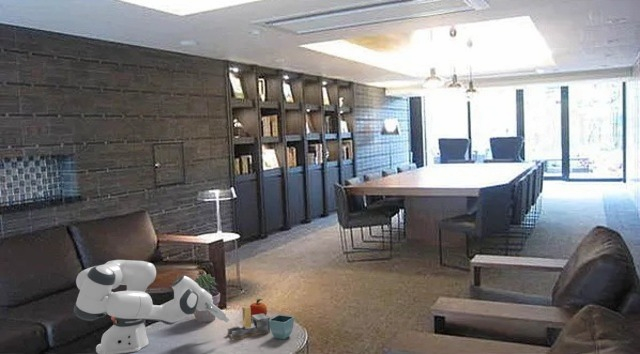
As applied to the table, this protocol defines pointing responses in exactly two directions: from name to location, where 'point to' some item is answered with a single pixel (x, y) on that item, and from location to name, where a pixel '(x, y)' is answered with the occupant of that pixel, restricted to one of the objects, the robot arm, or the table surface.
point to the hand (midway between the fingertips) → (224, 318)
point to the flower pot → (281, 326)
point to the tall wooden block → (247, 319)
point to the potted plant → (209, 286)
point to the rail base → (261, 328)
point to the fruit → (258, 308)
